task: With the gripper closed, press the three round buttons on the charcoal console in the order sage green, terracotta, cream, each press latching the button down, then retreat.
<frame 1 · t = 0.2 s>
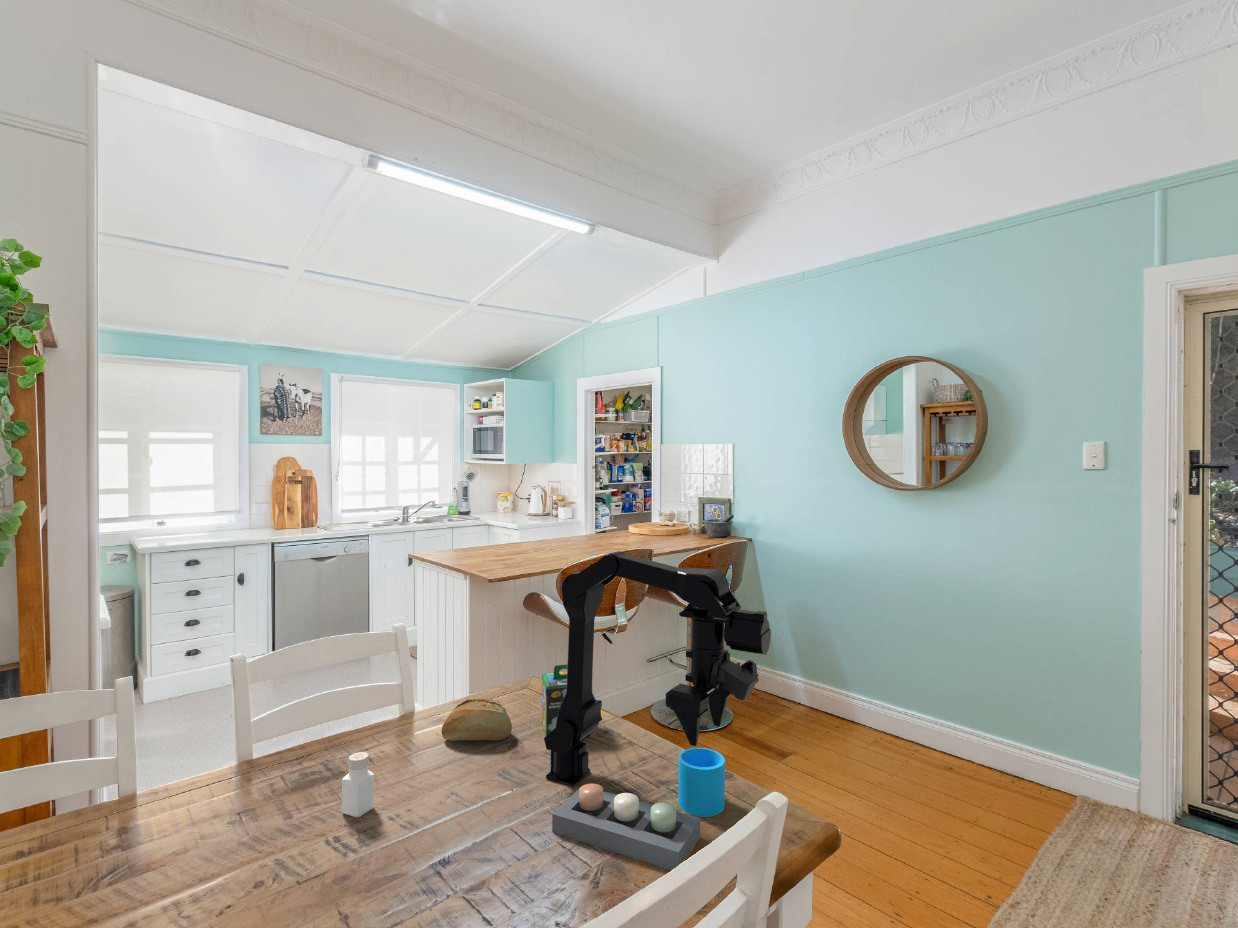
hand: (705, 735, 108), 14 cm above the table, fingers open, 9 cm apart
terracotta button: (591, 796, 105), point 4 cm above the table, slide at 0.0 cm
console: (625, 834, 102), on the table
chalk box: (563, 728, 142), on the table
pepper shaker: (358, 812, 108), on the table
bread roll: (477, 739, 137), on the table
cream button: (626, 806, 102), point 5 cm above the table, slide at 0.0 cm
mug: (698, 799, 114), on the table
sage button: (663, 817, 99), point 5 cm above the table, slide at 0.0 cm
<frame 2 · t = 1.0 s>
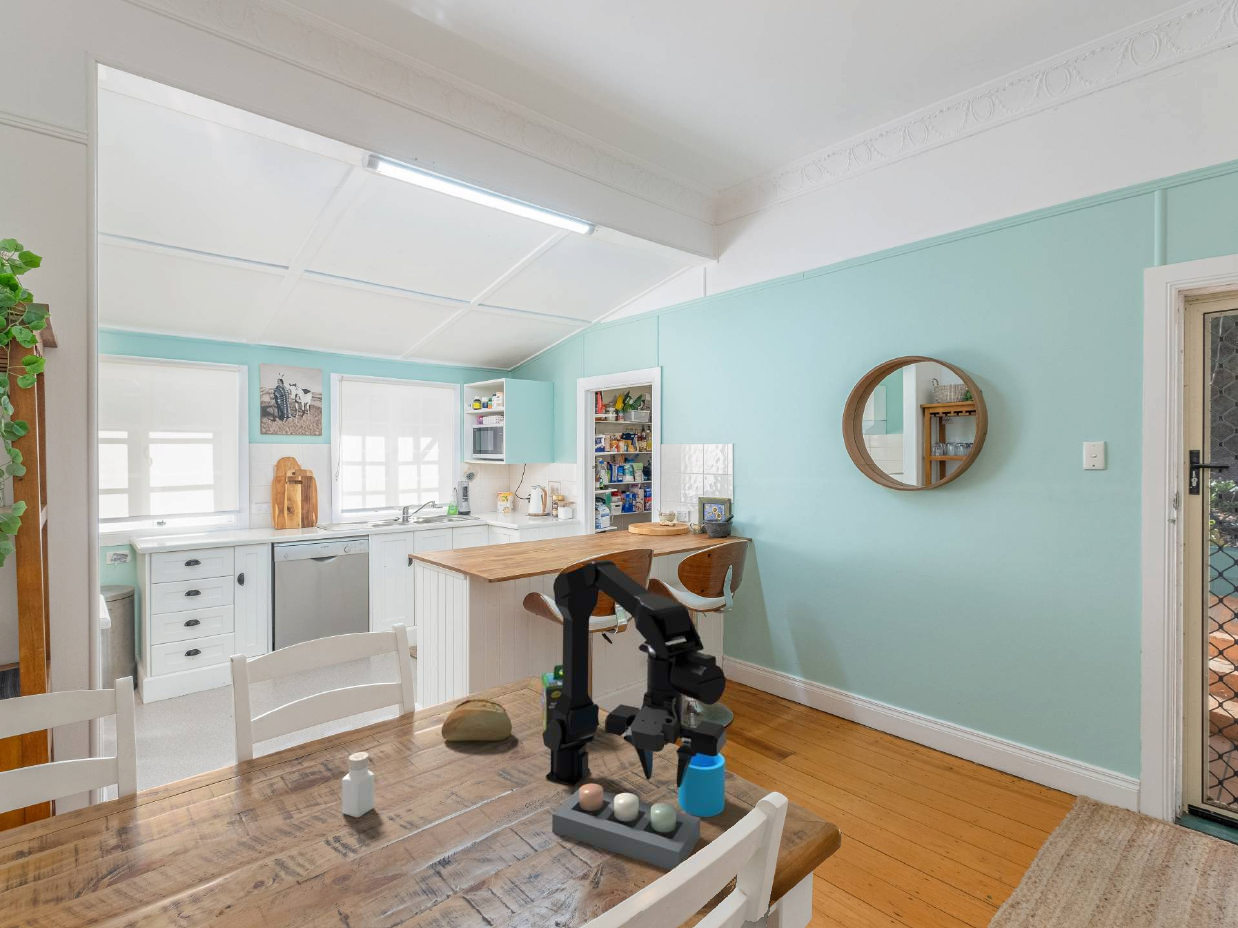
hand: (663, 782, 99), 10 cm above the table, fingers open, 5 cm apart
nothing on the table moved.
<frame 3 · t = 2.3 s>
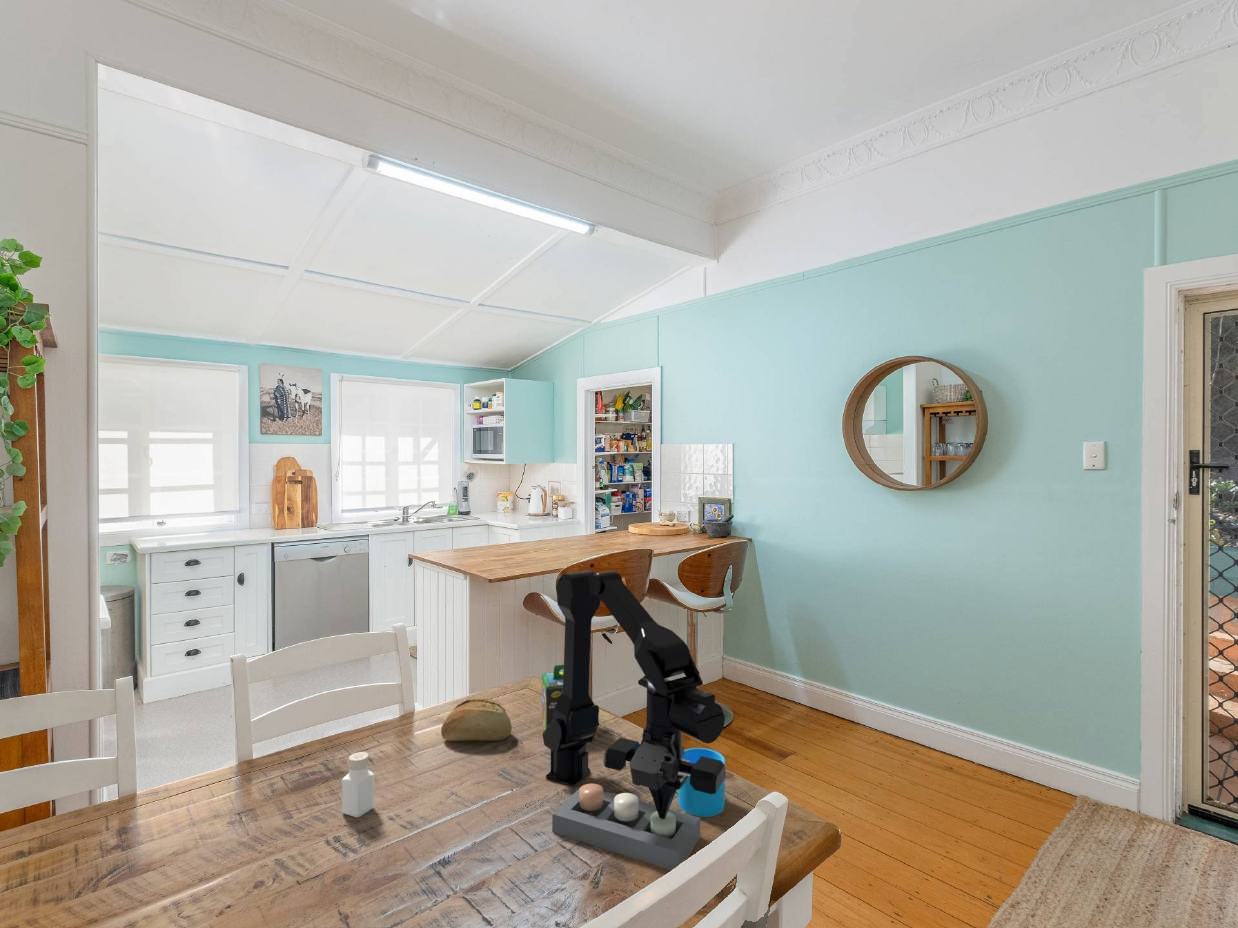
hand: (663, 817, 99), 4 cm above the table, fingers closed, pressing on sage button
sage button: (663, 825, 99), point 3 cm above the table, slide at 1.3 cm, touching gripper
everything else where it was.
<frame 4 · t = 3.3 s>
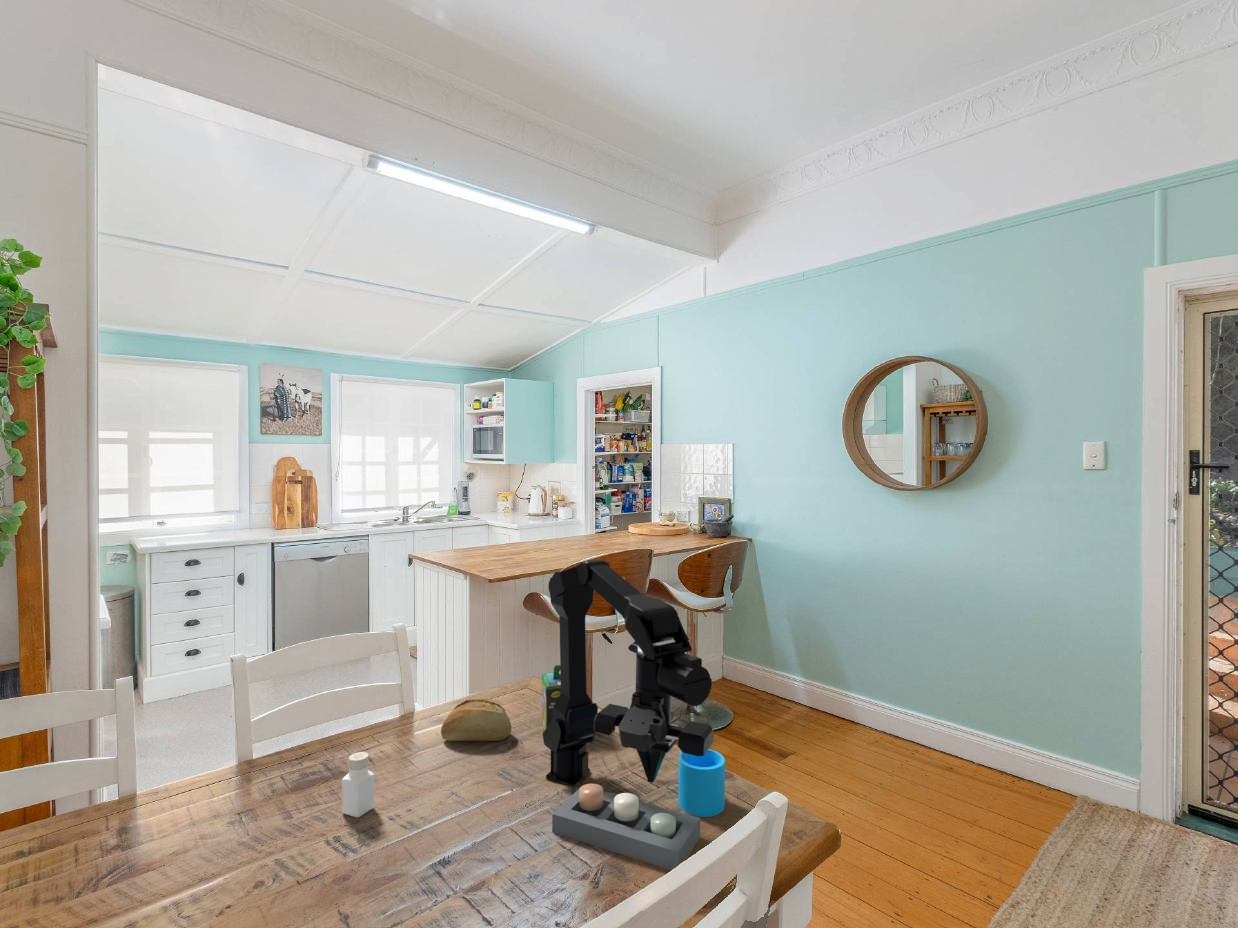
hand: (651, 781, 100), 10 cm above the table, fingers closed
sage button: (663, 827, 99), point 3 cm above the table, slide at 1.6 cm
everything else where it was.
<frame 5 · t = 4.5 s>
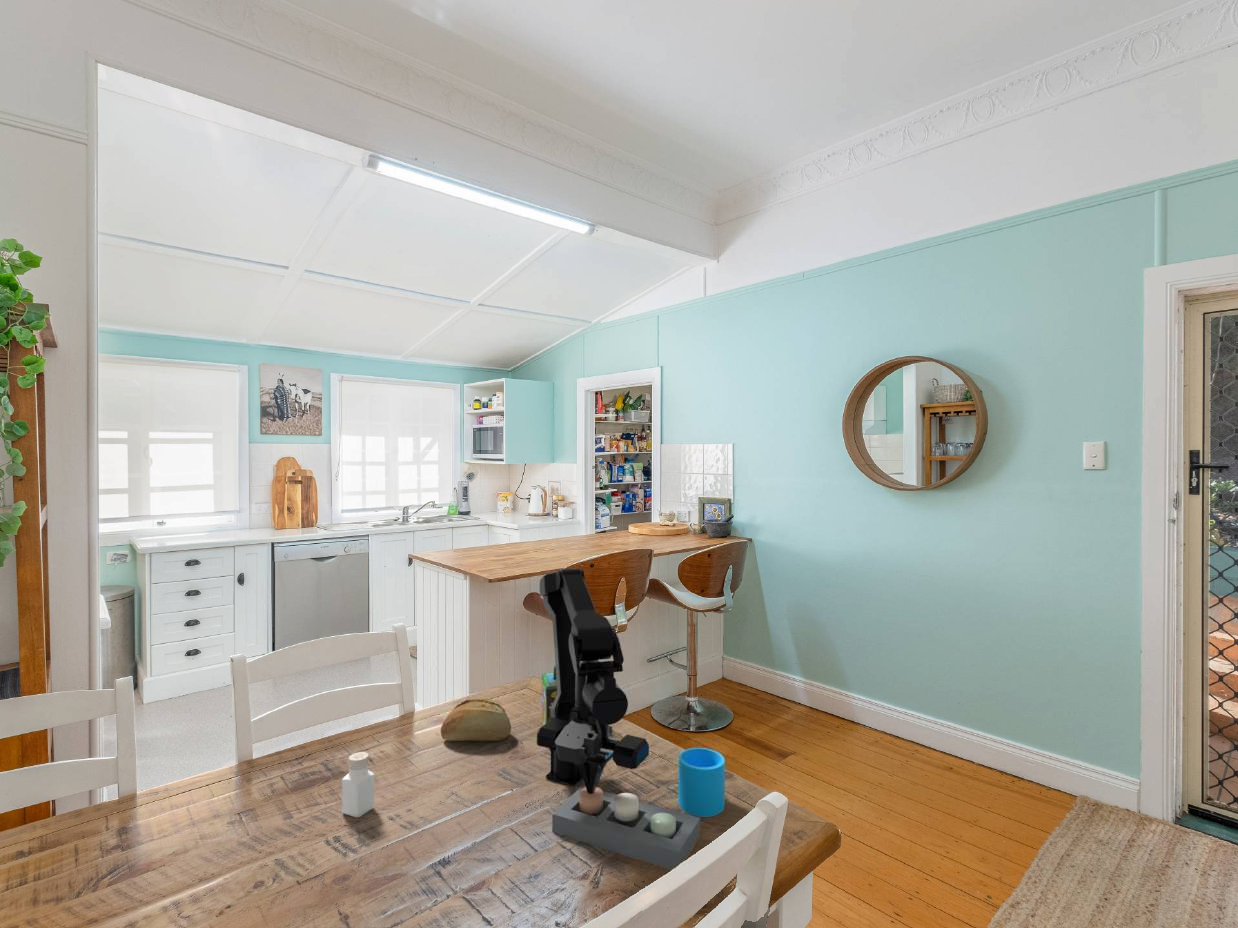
hand: (591, 792, 105), 5 cm above the table, fingers closed, pressing on terracotta button
terracotta button: (591, 799, 105), point 4 cm above the table, slide at 0.5 cm, touching gripper
everything else where it was.
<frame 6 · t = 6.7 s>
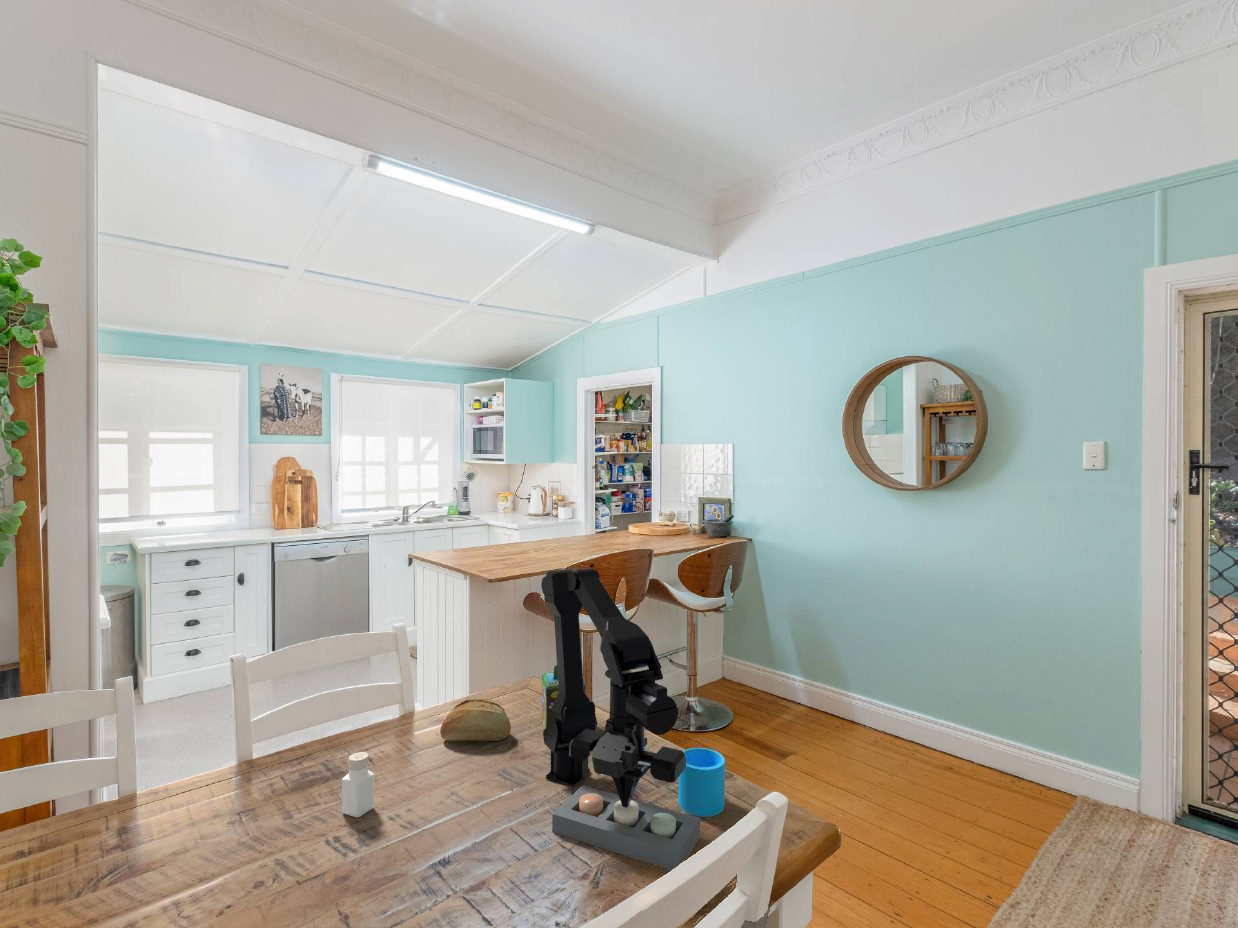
hand: (625, 806, 102), 5 cm above the table, fingers closed, pressing on cream button
terracotta button: (591, 806, 105), point 3 cm above the table, slide at 1.6 cm
cream button: (626, 813, 102), point 3 cm above the table, slide at 1.1 cm, touching gripper
everything else where it was.
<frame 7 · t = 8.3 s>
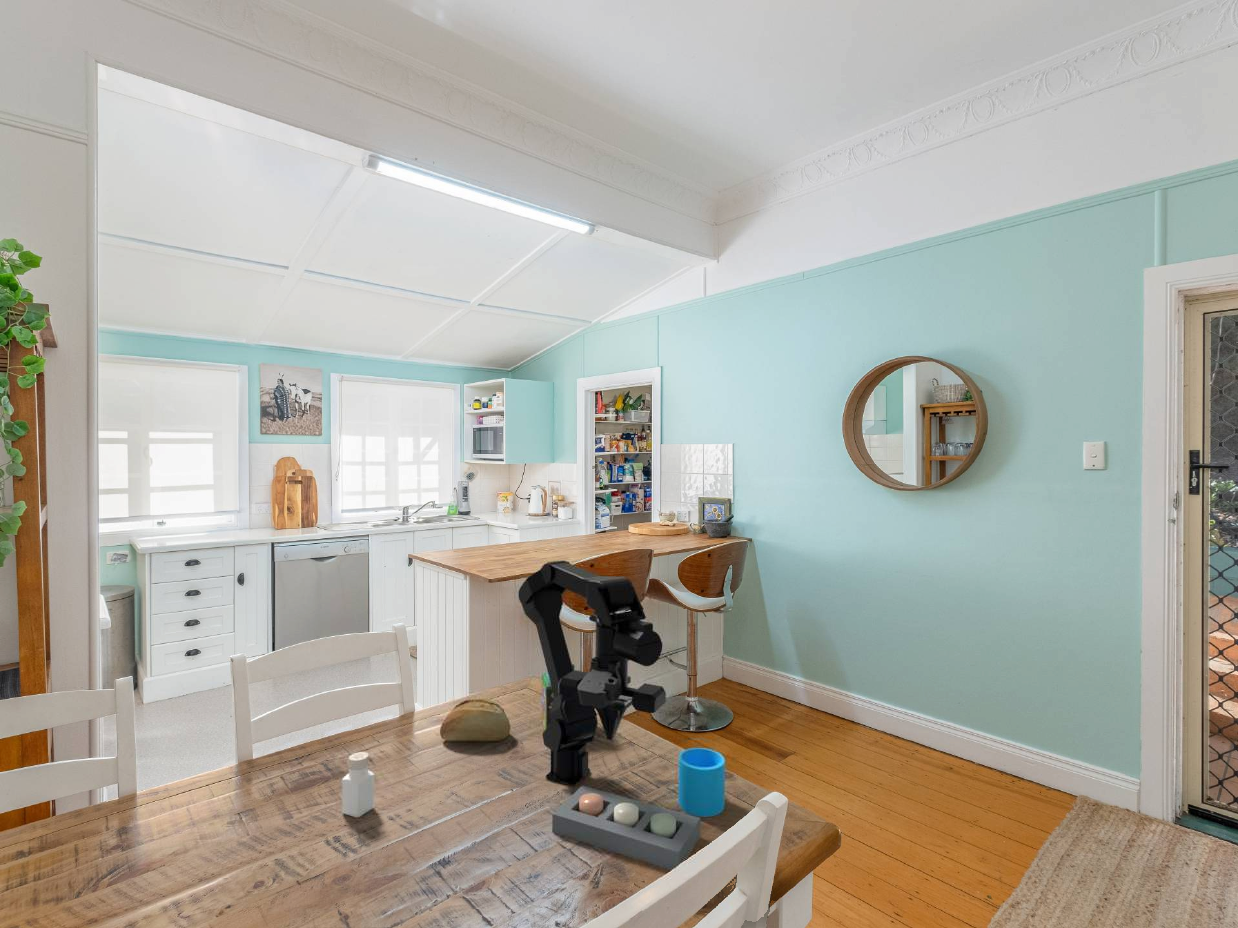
hand: (610, 739, 110), 12 cm above the table, fingers closed
cream button: (626, 816, 102), point 3 cm above the table, slide at 1.6 cm
everything else where it was.
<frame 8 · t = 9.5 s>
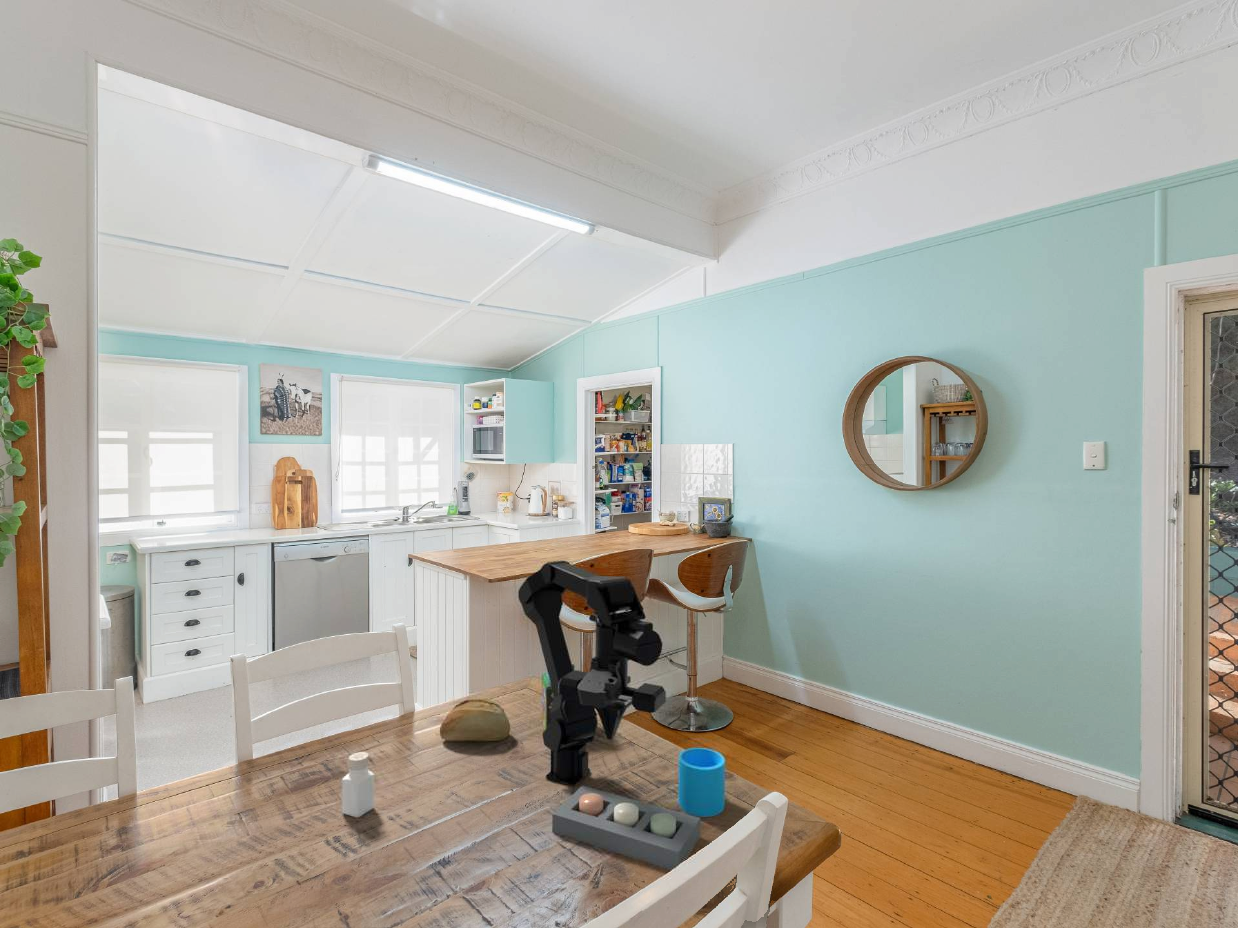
hand: (610, 738, 110), 12 cm above the table, fingers closed
nothing on the table moved.
at the end: sage button slide at 1.6 cm; terracotta button slide at 1.6 cm; cream button slide at 1.6 cm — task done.
